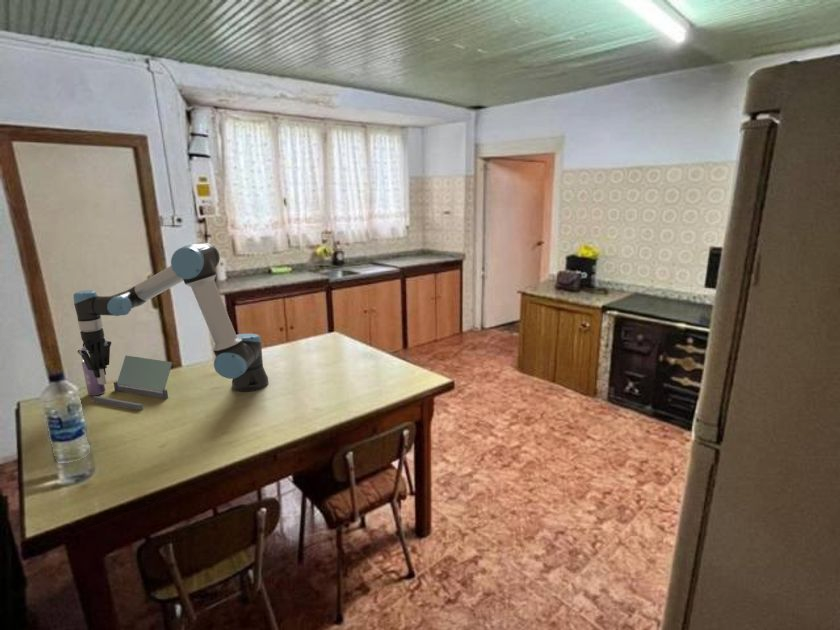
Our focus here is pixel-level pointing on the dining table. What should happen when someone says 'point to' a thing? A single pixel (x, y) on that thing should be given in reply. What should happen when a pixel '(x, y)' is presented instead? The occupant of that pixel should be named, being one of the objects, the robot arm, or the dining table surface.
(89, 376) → the beverage can
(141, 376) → the cover
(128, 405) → the plastic rails
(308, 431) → the dining table surface
